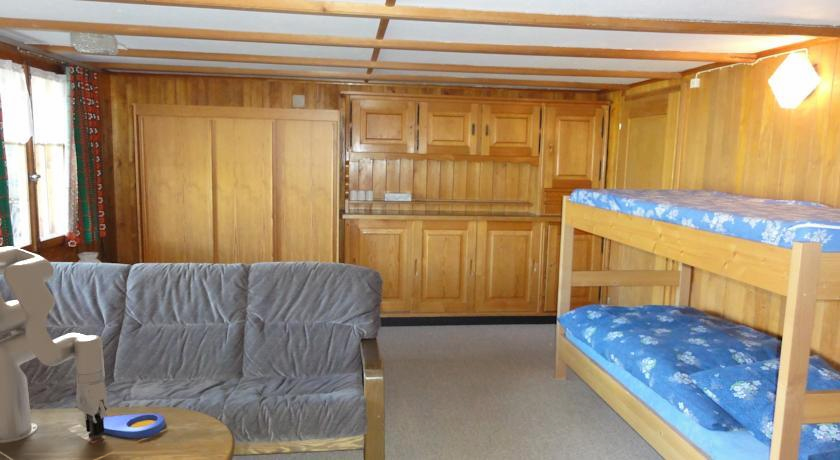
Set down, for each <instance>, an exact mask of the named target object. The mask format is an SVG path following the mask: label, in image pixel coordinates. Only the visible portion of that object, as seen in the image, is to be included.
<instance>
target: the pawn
mask: <svg viewBox="0 0 840 460" xmlns="http://www.w3.org/2000/svg"><path fill="white" fill-rule="evenodd" d="M99 415H100V414H98V415H96V418H97V416H99ZM88 419H89V424H90V433H89V432H88V433H89V438H88V439H96V438H100V437H102V436H104V433H103V432H102V433H100V434H97V435H93V427H92V423H94V422H93V416H91V415H88Z"/></svg>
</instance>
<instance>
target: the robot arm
mask: <svg viewBox="0 0 840 460" xmlns="http://www.w3.org/2000/svg"><path fill="white" fill-rule="evenodd" d="M2 275H3V279H4V281H5V283H6V285H7V286H8V288H9V289H10V292H11V293H12V294H13V295H14V297H15V299H13V300H12V299H11V300H8V301H5V300H4V298H3V295H2V293H1V291H0V336H3V335H6V334H8V333H10V334H11V336H7V337H5V338H2V339H0V444H7V443H13V442H16V441H20V440H21V441H22V440H23V439H25V438H28V437H30V436H32V435H34V434H35V433H36V432H37V431H38V427H39V426H38V425H37V424H36V423H33V422H32V416H31V407H30V398H29V397H30V395H29V388H28V387H29V385H28V378H27V376H26V374H25V373H24V371H23V370H22V369H21V367H20V366H21V365H23V364H24V363H27V362H28V361H31V360H33V359H35V358H37V360H38V361H39V362H40V363H41V364H43V365H45V366H47V367H54V366H58V365H60V364H62V363H64V362H66V361H68V360H70V359H73V358H74V359H75V370H76V371H75V372H76V407H77V409H78V410H79V411H81V412H83V413H84V419H85V428H86V430H87V432H88V433H89V432H90V424H89V419H88V415H91V416H93V422H94V423H92V427H93V435H97V434H100V433H102V432H104V421H103V420H104V417H108V416H107V414H108V413H107V412H106V411H107V410H108V396H107V389H106V385H105V384H106V383H105V378H106V377H105V376H106V375H105V366H104V365H105V363H104V351H103V340H102V338H101V336H100V335H97V334H90V335H89V334H88V335H87V334H83V333H79V332H68V333H65V334H63V335H61V336H58V337H56V338H53V339H52V337H51V336H50V334H49V332H48V330H47V326H46V322H47V317H48V315H49V314H50V311H51V310H52V309H53V308H54V307H55V305H56V303H57V302H56V299H55V298H54V296H53V295H52V293H51V291H50V289H49V287H47V285H46V282H49V281H50V280H52V279H53V277H54V275H55V269H54V267H53V265H52V263H51V262H50V261H49V260H48V259H47V258H45V257H44V256H41V255H39V254H37V253H33V252H30V251H27V250H25V249H21V248H19V247H15V246H9V245H8V246H2V247H0V276H2ZM98 414H100V415H99V416H97V418H96V415H98Z"/></svg>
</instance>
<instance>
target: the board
mask: <svg viewBox="0 0 840 460" xmlns="http://www.w3.org/2000/svg"><path fill="white" fill-rule="evenodd" d="M66 430H67V431H69V432H70V433H73V434H74V435H76V436H78V437H79V438H82V439H84V440H86V441H87V442H89V443H91V444H95V443H96V442H99V441H102V440H104V439H106V438H107V437H106V436H104V435H103V436H102V437H100V438H96V439H90V438H89V433H90V432H87V430H86V426H83V425H82V424H77V425H74V426H71V427H69V428H66Z"/></svg>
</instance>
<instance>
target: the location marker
mask: <svg viewBox="0 0 840 460" xmlns="http://www.w3.org/2000/svg"><path fill="white" fill-rule="evenodd" d="M103 421H104V432H103V434H106V435H110V436H115V437H121V438H126V439H128V438H129V439H139V438H140V439H146V438H149V437H153V436H155V435H157V434H159V433H161V432H162V431H163V430H164V428H165V427H166V418H165V416H164V415H163V414H160V413H135V414H122V415H114V416H106V417H104V420H103Z"/></svg>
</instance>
